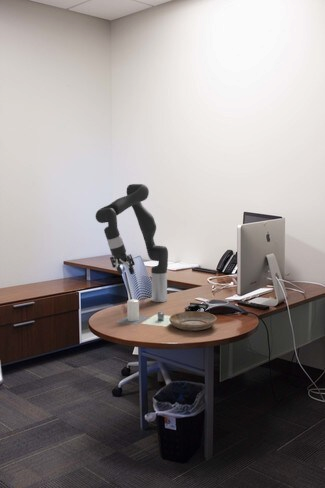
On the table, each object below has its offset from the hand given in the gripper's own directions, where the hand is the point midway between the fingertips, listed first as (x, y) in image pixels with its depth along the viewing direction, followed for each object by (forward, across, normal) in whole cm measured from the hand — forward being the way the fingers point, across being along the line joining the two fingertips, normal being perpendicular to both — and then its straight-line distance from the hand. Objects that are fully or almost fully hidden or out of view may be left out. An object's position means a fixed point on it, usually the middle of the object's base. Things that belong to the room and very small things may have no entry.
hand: (126, 274), depth 267 cm
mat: (+24, +1, +6) cm, 25 cm away
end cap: (+35, -20, -20) cm, 45 cm away
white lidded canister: (+24, +1, +5) cm, 24 cm away
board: (+28, -11, -2) cm, 30 cm away
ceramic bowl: (+32, -30, -3) cm, 44 cm away
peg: (+28, -11, -2) cm, 30 cm away
